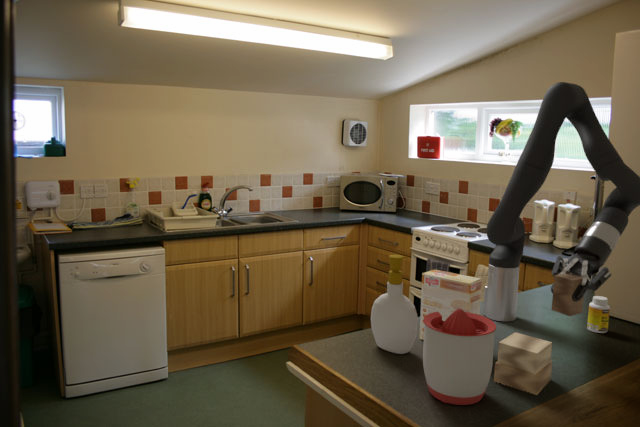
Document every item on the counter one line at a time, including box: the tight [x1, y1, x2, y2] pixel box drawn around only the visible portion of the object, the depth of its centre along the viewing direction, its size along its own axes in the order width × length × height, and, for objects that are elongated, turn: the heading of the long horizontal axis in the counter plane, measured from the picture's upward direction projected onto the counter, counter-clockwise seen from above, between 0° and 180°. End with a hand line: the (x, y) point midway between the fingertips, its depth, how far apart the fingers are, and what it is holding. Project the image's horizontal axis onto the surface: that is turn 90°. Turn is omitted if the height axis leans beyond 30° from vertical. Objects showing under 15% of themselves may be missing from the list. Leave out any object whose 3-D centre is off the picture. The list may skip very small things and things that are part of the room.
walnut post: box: [551, 272, 585, 317], centre depth 132 cm, size 5×5×9 cm
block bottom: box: [493, 360, 553, 396], centre depth 127 cm, size 10×10×5 cm
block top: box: [497, 331, 553, 375], centre depth 126 cm, size 9×9×5 cm
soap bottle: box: [370, 254, 419, 355], centre depth 143 cm, size 14×9×26 cm, turn 46°
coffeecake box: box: [419, 269, 483, 341], centre depth 148 cm, size 15×7×20 cm, turn 47°
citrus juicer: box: [422, 309, 497, 406], centre depth 120 cm, size 16×17×20 cm
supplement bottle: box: [586, 295, 611, 334], centre depth 160 cm, size 6×6×10 cm
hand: (563, 296), depth 131 cm, fingers closed on walnut post, 5 cm apart
